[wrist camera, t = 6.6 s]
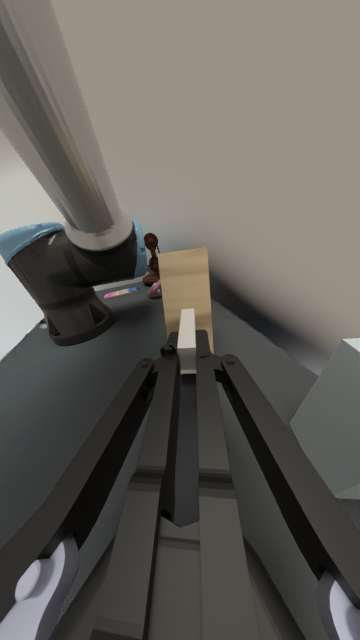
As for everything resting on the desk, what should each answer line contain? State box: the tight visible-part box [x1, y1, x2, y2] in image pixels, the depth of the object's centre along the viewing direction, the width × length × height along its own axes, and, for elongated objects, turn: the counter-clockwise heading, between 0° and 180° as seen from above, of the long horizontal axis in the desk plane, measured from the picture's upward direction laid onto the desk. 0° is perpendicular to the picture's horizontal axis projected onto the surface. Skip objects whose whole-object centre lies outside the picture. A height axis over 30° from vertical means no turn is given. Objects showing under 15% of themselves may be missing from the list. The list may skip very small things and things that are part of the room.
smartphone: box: [102, 286, 140, 300], centre depth 60 cm, size 8×15×1 cm, turn 109°
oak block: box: [158, 247, 214, 374], centre depth 21 cm, size 6×6×16 cm
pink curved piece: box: [148, 280, 162, 298], centre depth 51 cm, size 10×5×7 cm, turn 137°
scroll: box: [143, 233, 160, 287], centre depth 62 cm, size 15×15×20 cm
